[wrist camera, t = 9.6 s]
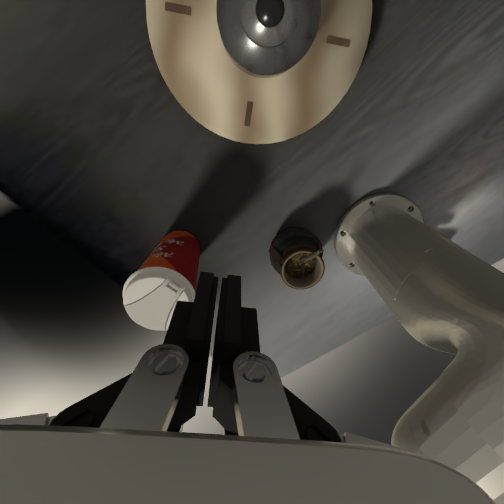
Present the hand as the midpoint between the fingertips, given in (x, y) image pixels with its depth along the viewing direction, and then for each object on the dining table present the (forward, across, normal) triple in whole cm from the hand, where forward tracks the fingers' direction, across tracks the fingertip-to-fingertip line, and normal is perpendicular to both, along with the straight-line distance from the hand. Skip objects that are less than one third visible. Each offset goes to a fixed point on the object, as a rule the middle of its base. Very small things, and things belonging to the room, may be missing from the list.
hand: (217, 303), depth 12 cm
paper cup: (+29, +6, +12) cm, 32 cm away
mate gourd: (+29, -10, +9) cm, 32 cm away
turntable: (+28, -1, -15) cm, 31 cm away
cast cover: (+26, -2, -15) cm, 30 cm away
